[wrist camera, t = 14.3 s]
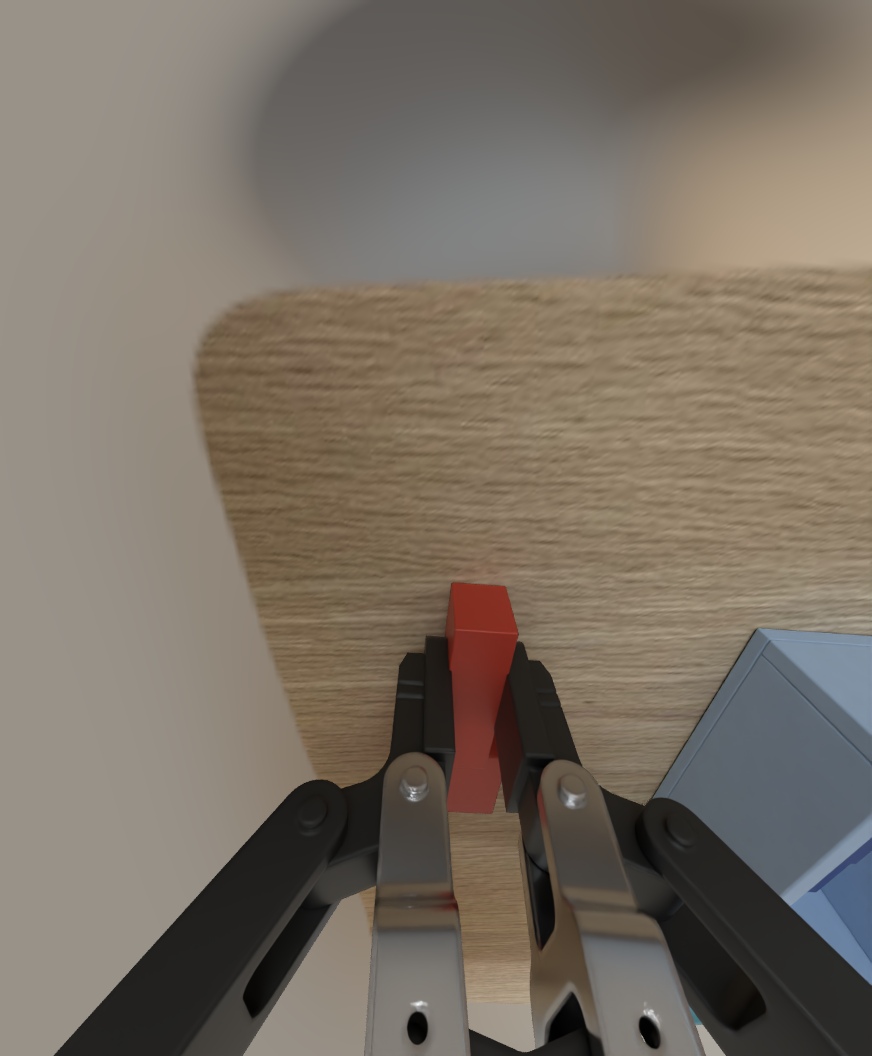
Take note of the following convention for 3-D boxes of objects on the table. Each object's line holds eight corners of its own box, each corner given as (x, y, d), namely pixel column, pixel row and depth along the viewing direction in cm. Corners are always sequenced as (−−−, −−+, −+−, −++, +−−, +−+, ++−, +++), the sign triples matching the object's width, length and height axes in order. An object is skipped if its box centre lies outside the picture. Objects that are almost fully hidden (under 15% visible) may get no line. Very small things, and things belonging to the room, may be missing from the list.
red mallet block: (423, 580, 11) (422, 627, 9) (532, 587, 11) (551, 636, 9) (407, 766, 15) (404, 824, 13) (487, 770, 15) (494, 827, 14)
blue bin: (757, 627, 12) (918, 776, 8) (1059, 647, 12) (1355, 799, 8) (611, 863, 19) (659, 1005, 15) (808, 870, 19) (906, 1011, 15)
